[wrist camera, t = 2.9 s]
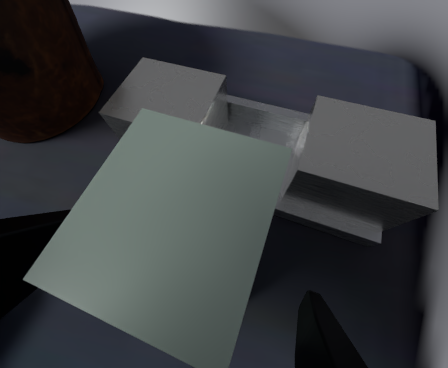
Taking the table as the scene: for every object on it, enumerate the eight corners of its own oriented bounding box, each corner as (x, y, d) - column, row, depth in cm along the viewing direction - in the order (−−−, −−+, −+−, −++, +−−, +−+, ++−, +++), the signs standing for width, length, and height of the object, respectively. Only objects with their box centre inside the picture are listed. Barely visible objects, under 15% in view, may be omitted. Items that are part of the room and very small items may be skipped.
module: (232, 308, 15) (224, 382, 4) (174, 283, 16) (22, 279, 4) (253, 240, 17) (292, 148, 6) (201, 221, 18) (142, 107, 6)
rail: (368, 247, 16) (445, 225, 10) (131, 167, 20) (89, 119, 14) (377, 160, 19) (439, 106, 13) (170, 106, 23) (148, 46, 17)
